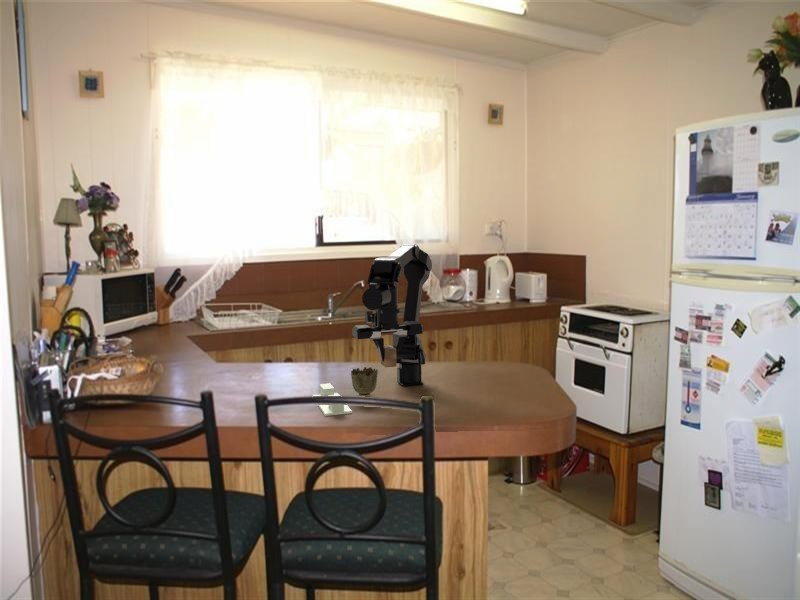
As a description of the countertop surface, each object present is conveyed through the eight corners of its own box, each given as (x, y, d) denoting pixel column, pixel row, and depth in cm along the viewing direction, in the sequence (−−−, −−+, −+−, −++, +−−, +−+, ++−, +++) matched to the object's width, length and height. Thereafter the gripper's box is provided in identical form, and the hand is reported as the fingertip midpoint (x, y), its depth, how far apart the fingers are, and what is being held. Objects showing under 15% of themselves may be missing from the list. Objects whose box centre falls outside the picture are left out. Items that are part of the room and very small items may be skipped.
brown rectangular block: (391, 362, 176) (390, 345, 176) (396, 366, 172) (396, 348, 172) (380, 363, 176) (380, 346, 175) (386, 367, 171) (385, 349, 171)
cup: (354, 403, 171) (353, 374, 170) (349, 395, 178) (348, 368, 177) (381, 400, 173) (380, 372, 172) (374, 393, 180) (374, 366, 179)
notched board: (337, 394, 179) (336, 382, 179) (352, 413, 162) (351, 399, 162) (312, 397, 177) (312, 384, 177) (325, 416, 160) (324, 402, 160)
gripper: (409, 298, 182) (409, 351, 184) (346, 302, 176) (347, 357, 178) (423, 303, 172) (424, 359, 174) (357, 308, 166) (358, 366, 168)
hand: (388, 360), depth 174 cm, fingers closed on brown rectangular block, 3 cm apart
